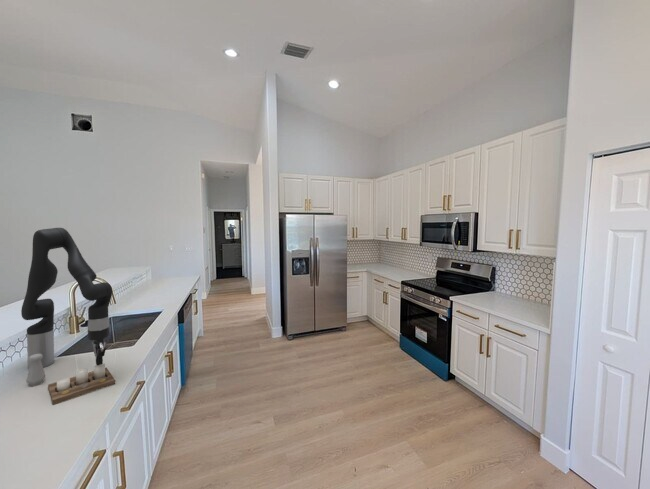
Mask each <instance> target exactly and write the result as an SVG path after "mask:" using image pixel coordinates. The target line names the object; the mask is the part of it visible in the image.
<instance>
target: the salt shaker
mask: <svg viewBox="0 0 650 489" xmlns="http://www.w3.org/2000/svg"><path fill="white" fill-rule="evenodd" d="M42 357H43V356H42V354H34V355H31V356H30V357H29V359H28V358H27V362H28V361H29V362H30V367H29V368H28V372H27V377H26V383H27V385H29V387H30V386H31V387H34V386H38V385H40V384H43V383H44V380H45V379H46V373H45V370H44V367H43V366H42V363H41V359H42Z"/></svg>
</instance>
